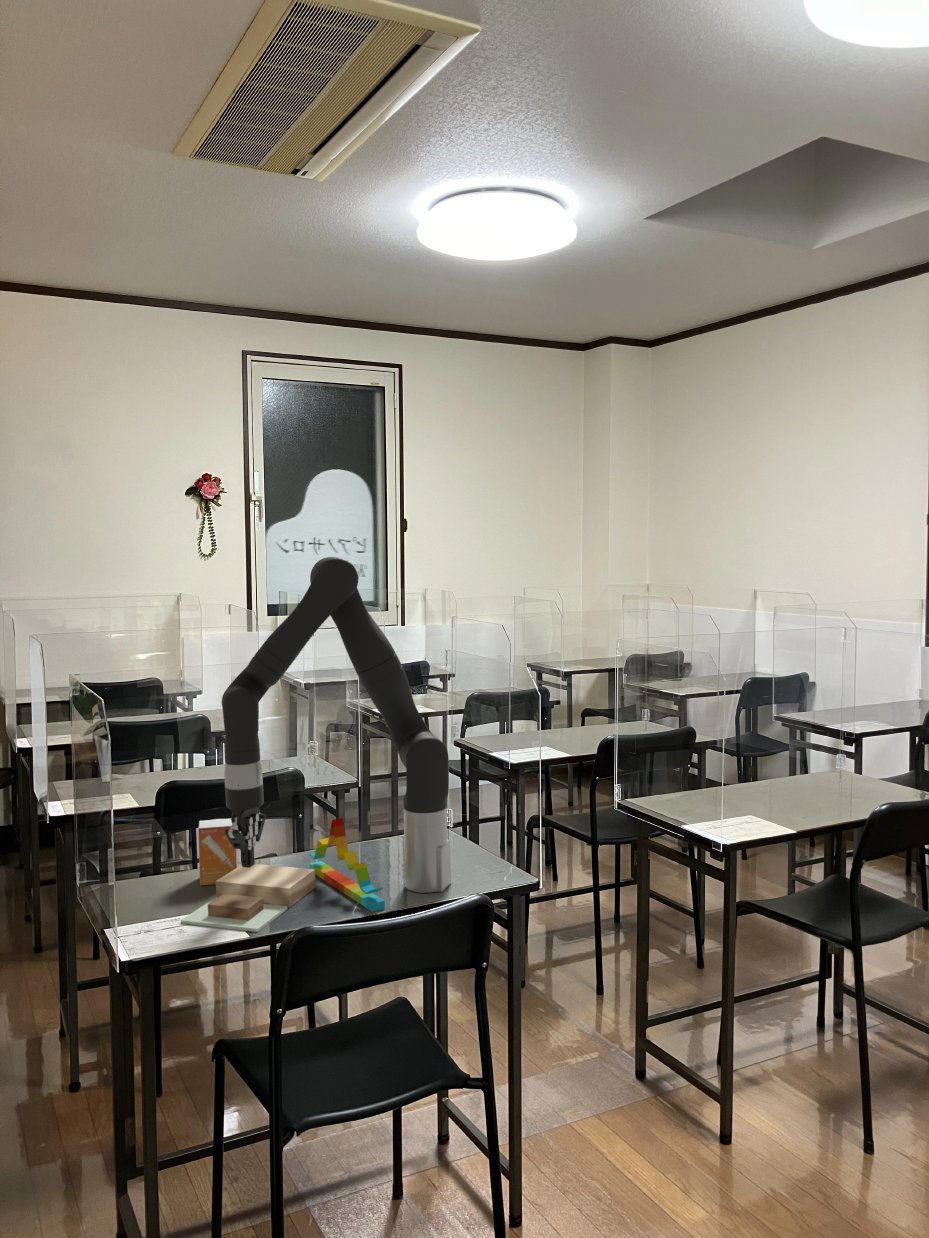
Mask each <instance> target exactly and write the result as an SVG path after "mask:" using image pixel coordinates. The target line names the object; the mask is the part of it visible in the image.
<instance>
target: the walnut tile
mask: <svg viewBox="0 0 929 1238" xmlns="http://www.w3.org/2000/svg"><path fill="white" fill-rule="evenodd" d="M214 899H215V900H214V901H212V902H211V903H209V904H208V916H211V917H220V918H230V919H239V920H248V921H249V920H250V919H251V918H253V917H254V916H255V915H257V914H258V913H259V912H261V911H262V910H263V898H259V897H249V896H239V895H229V894H223V895H221V896H220V897H218V898H217V899H216V898H214Z"/></svg>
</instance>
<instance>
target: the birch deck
mask: <svg viewBox="0 0 929 1238" xmlns="http://www.w3.org/2000/svg"><path fill="white" fill-rule="evenodd" d="M315 888H316V874H315V869H310V868H303V867H302V868H301V867H293V866H291V867H289V866H282V865H281V866H280V865H271V864H270V865H269V864H261V863H255V864H254V865H253V866H252V867H250V868H247V867H242V864H241V865H239V866H237V868H236V869H234V870H233V871H231V872H230V873H228V874H226V875H225V876H223V877H222V878H220V879H218V880H217V881H216V884H215V899H217V898H218V897H220V896H221V895H223V894H229V895H239V896H249V897H259V898H263V904H268V905H278V906H287V908H291V907H292V906H294V905H295V904H296V903H297V902H298V901H300V900H302V899H303V898H304V897H305V896H306V895H308V894H309V893H310V892H311V891H313V890H314V889H315Z"/></svg>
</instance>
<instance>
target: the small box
mask: <svg viewBox="0 0 929 1238" xmlns="http://www.w3.org/2000/svg"><path fill="white" fill-rule="evenodd" d="M231 826H232V822H231V818H214V819H209V820H208V819H207V820H206V819H205V820H199V821H198V859H199V861H198V862H199V863H198V864H199V885H200V886H209V885H216V881H217V880H218V879H220V878H222V877H223V876H225V875H226V874H228V873H230V872H231V871H233V870H234V869H236V868H238V852H237V851H238V849H234V847H233V846H232V844H231V843H230V841H229V840H228V838H227V836H226V835H225V830H226V829H230V828H231Z"/></svg>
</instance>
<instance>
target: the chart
mask: <svg viewBox="0 0 929 1238" xmlns="http://www.w3.org/2000/svg"><path fill="white" fill-rule="evenodd" d="M344 821H345V820H344V817H341V818H335V819H332V820H331V824H330V825H331V826H330V829H329V836H328V837H325V838H322V839H321V838H320V839H318V840H317V843H316V848H315V851H313V852H309V853H308V855H309V856H310V857H311V859H313V860H318V859H322V858H326V853H327V850H328V849H327V848H328V846H332V845H335V847H336V854H337V855H336V856H337V862H339V861H344V860H345V861H344V862H345V864H346V866H347V869H348V871H352V870H355V875H356V878H357V882H358V883H357V882H355V881H354V880H352V879H350V878H349V877H347V876H346V875H344V874H343V873H342V872H339V871H338V870H337V869H334V868H333V867H332V866H330V865H328V864H327V863H325V862H324V861H322V860H319V861H315V862H310V863H309V869H315V876H316V877H319V878H320V879H321V880H323V881H324V882H326V883H328V884H329V885H330V886H332V887H334V888H336V889H337V890H338V891H340V892H341V893H343V894H345V895H346V896H347V897H349V898H351V899H352V900H354V901H355V902H357V904H360V905H361V906H362V907H364V908H366V909H367V910H369V911H370V912H372V913H373V912H376V911H381V910H385V909H386V904H385V900H384V899H383V898H381V897H379V896H378V895H377V894H375V893H378V892H380V891H381V890H384V887H379V888H376V887H375V886H373V884H372V883H371V882H372V881H371V878H370V875H369V872H368V867H367V864H366V862H362V863H359V860H358V857H357V854H356V851H355V850H349V848H348V842H347V841H348V840H347V835H346V829H345V822H344Z"/></svg>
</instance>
